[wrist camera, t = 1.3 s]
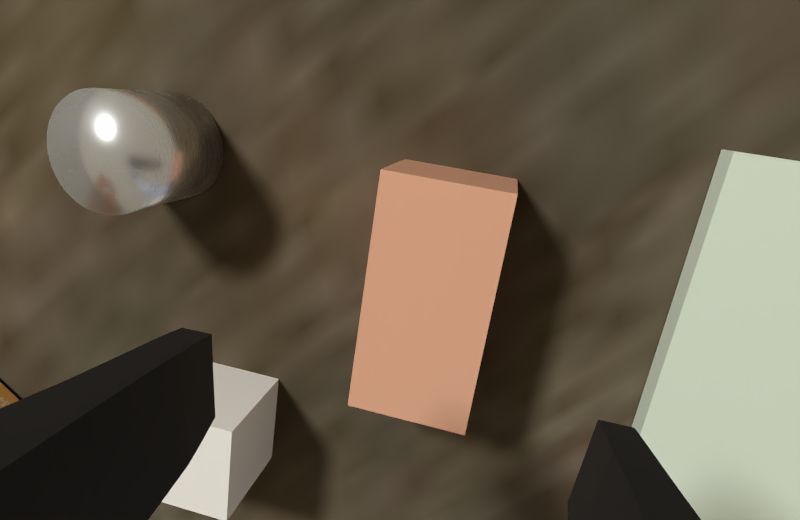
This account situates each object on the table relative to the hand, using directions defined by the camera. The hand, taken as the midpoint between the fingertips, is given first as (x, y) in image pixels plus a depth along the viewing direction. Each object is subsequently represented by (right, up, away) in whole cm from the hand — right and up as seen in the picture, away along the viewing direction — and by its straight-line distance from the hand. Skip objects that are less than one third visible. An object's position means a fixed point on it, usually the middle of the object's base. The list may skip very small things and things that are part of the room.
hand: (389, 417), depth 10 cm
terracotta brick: (+2, +2, +10) cm, 10 cm away
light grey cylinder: (-9, +7, +11) cm, 16 cm away
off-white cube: (-7, -4, +14) cm, 16 cm away
